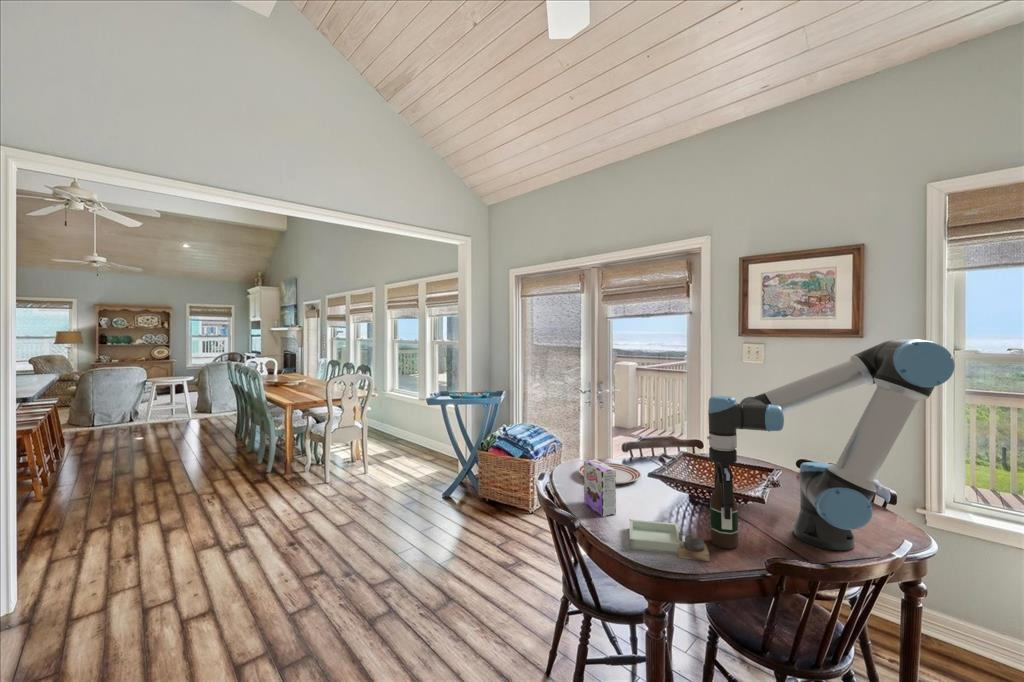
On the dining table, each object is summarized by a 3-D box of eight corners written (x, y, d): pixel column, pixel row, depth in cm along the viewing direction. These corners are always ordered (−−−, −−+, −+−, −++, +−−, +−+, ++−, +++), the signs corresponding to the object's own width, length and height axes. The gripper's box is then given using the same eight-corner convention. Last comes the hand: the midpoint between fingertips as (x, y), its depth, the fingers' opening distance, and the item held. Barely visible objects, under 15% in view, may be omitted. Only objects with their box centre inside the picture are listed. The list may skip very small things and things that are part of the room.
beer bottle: (741, 542, 130) (740, 463, 130) (734, 552, 124) (733, 469, 124) (714, 534, 135) (713, 459, 135) (706, 543, 130) (705, 464, 129)
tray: (678, 533, 137) (678, 523, 137) (683, 554, 123) (683, 544, 123) (629, 528, 141) (629, 519, 141) (629, 549, 127) (629, 539, 127)
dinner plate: (642, 471, 200) (641, 464, 200) (640, 491, 174) (640, 483, 174) (583, 466, 209) (583, 459, 209) (573, 485, 183) (573, 477, 183)
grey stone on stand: (705, 550, 126) (705, 532, 126) (709, 561, 120) (709, 542, 120) (676, 547, 128) (676, 529, 128) (678, 557, 122) (678, 538, 122)
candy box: (583, 503, 163) (582, 460, 163) (597, 501, 165) (596, 458, 164) (602, 517, 150) (601, 470, 149) (616, 515, 151) (616, 468, 151)
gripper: (703, 439, 140) (704, 508, 141) (715, 456, 121) (717, 537, 121) (728, 440, 138) (729, 510, 139) (745, 457, 119) (746, 539, 119)
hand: (723, 522), depth 130 cm, fingers closed on beer bottle, 7 cm apart
